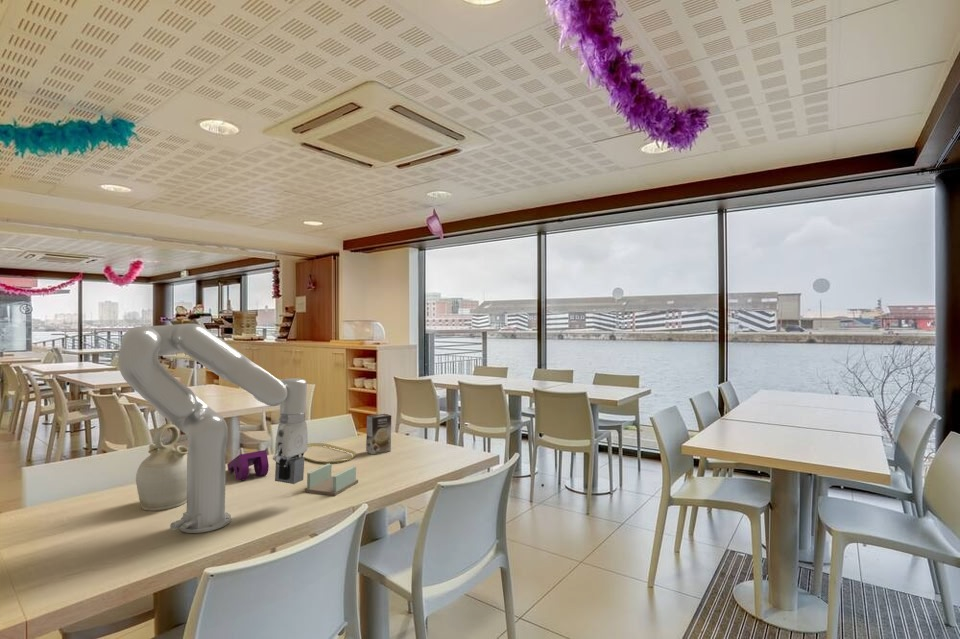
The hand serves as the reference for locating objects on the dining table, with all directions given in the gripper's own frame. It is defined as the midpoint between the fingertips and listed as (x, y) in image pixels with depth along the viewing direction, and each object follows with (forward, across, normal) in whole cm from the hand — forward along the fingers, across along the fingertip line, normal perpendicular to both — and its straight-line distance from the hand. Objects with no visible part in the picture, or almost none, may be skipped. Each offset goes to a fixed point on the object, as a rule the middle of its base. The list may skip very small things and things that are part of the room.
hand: (289, 476), depth 151 cm
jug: (+11, -11, +37) cm, 40 cm away
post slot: (+8, +19, -3) cm, 21 cm away
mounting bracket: (+10, +21, +36) cm, 43 cm away
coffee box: (+7, +65, +5) cm, 66 cm away
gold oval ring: (+8, +53, +26) cm, 60 cm away
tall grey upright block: (+1, 0, 0) cm, 1 cm away
